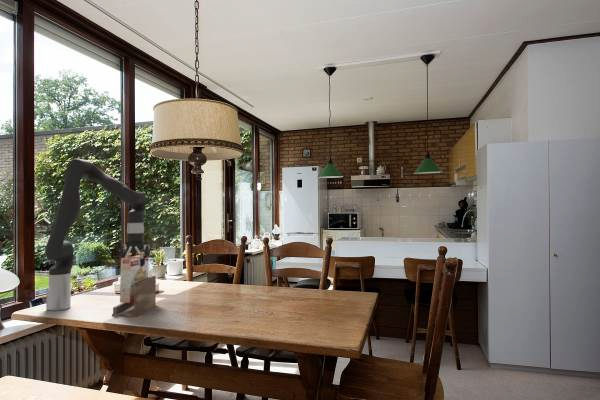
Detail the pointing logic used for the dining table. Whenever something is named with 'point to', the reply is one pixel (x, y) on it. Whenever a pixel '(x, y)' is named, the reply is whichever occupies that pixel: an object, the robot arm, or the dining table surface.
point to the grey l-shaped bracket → (139, 299)
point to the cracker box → (131, 276)
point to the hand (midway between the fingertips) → (135, 266)
